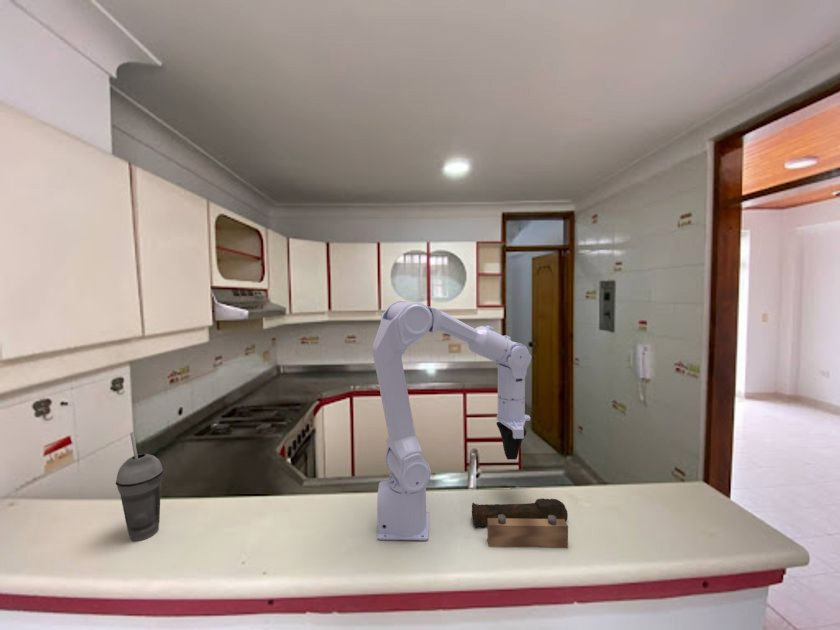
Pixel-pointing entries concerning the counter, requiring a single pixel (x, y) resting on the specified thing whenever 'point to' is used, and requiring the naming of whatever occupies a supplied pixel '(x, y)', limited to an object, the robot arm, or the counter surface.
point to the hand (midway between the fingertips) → (510, 457)
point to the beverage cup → (140, 493)
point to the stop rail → (527, 532)
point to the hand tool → (519, 511)
